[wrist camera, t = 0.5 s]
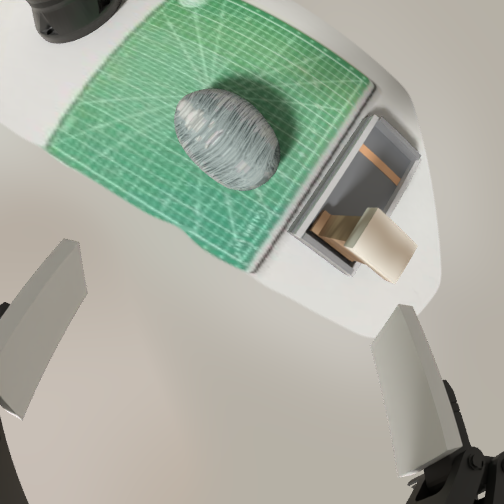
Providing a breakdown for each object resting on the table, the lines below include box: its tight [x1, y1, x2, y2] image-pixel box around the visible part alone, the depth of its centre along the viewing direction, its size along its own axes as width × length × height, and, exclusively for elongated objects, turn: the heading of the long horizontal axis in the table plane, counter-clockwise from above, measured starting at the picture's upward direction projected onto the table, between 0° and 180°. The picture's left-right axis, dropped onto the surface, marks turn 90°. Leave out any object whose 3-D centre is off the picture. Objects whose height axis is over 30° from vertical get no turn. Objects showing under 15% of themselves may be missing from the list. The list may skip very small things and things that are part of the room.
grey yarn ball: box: [174, 89, 280, 191], centre depth 33 cm, size 14×10×10 cm
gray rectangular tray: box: [287, 114, 421, 277], centre depth 38 cm, size 20×10×4 cm, turn 145°
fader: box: [309, 208, 417, 284], centre depth 32 cm, size 4×7×12 cm, turn 55°
